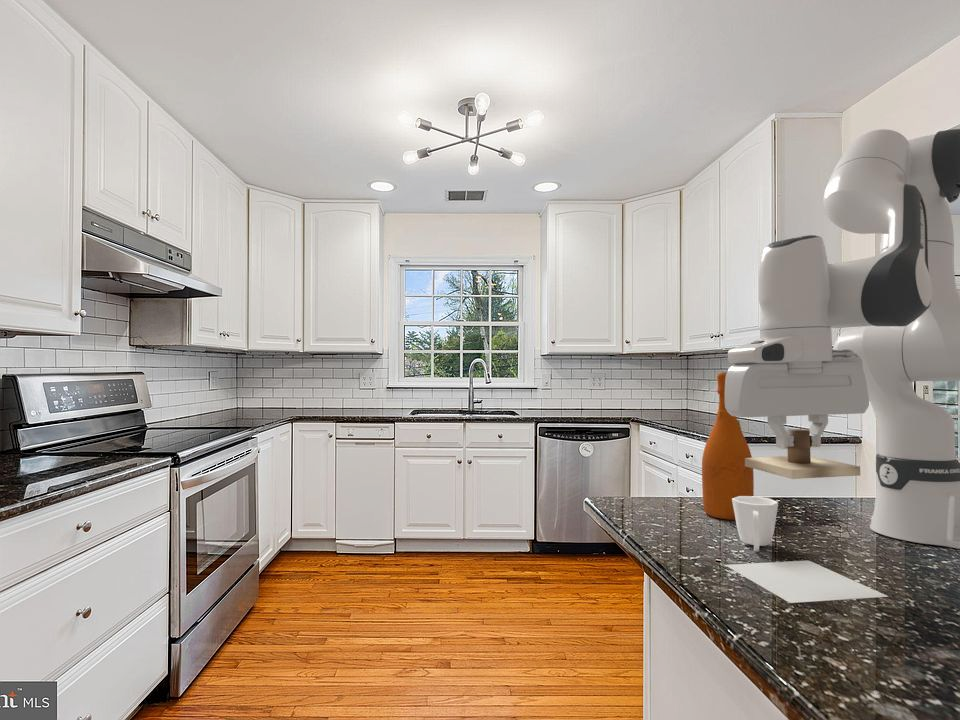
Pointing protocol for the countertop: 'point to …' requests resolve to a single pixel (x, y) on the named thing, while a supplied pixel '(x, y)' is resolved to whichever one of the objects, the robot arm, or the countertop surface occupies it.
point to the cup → (755, 519)
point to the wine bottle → (725, 462)
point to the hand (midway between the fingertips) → (798, 447)
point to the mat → (804, 581)
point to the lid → (801, 461)
